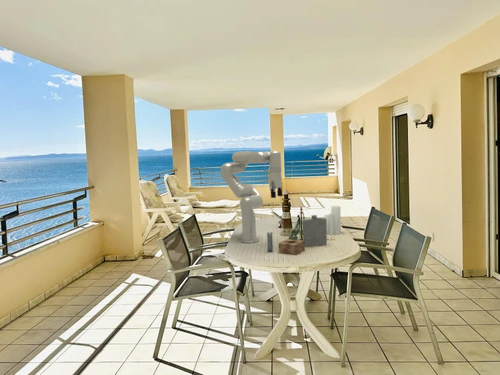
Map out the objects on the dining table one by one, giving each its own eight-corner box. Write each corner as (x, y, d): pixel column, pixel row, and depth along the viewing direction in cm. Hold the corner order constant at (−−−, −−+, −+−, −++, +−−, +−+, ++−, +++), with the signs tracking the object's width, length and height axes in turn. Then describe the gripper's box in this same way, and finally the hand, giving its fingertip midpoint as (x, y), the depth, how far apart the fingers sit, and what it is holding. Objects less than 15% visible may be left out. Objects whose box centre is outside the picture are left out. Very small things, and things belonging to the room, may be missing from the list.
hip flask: (304, 247, 254) (303, 216, 252) (302, 245, 258) (301, 215, 256) (327, 245, 257) (327, 215, 255) (325, 243, 261) (324, 214, 259)
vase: (339, 232, 293) (339, 206, 291) (341, 234, 286) (341, 207, 284) (324, 233, 293) (323, 206, 291) (326, 235, 286) (325, 208, 284)
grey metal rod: (266, 252, 245) (266, 233, 244) (269, 250, 248) (268, 232, 247) (271, 252, 244) (270, 233, 242) (273, 251, 246) (273, 232, 245)
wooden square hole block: (278, 252, 243) (278, 243, 242) (287, 248, 253) (287, 239, 252) (296, 255, 236) (296, 245, 236) (304, 250, 246) (304, 240, 246)
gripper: (276, 169, 263) (277, 195, 264) (264, 171, 248) (265, 198, 249) (286, 169, 259) (287, 195, 260) (275, 171, 244) (276, 198, 245)
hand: (276, 196), depth 255 cm, fingers open, 9 cm apart
